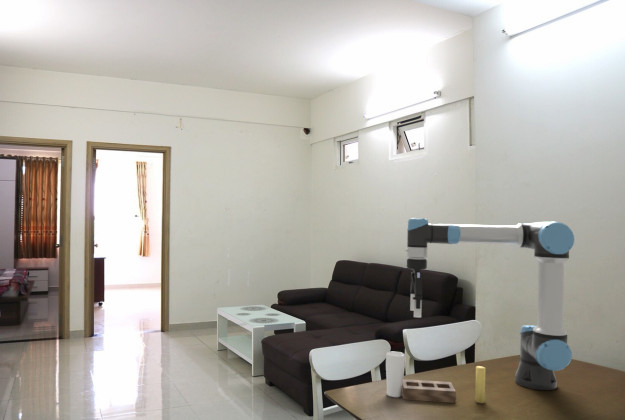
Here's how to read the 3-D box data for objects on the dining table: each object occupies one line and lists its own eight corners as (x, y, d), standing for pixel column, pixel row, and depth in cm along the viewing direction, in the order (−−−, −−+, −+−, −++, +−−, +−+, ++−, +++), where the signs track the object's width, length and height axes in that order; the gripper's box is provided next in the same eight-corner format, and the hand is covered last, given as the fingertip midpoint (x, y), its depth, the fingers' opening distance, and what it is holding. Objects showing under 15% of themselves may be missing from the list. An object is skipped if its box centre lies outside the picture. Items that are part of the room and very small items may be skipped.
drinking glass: (404, 393, 179) (406, 352, 179) (401, 399, 173) (403, 357, 173) (386, 391, 181) (388, 350, 182) (382, 396, 175) (384, 354, 175)
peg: (483, 400, 175) (484, 366, 175) (485, 403, 172) (486, 369, 172) (474, 399, 175) (475, 365, 175) (476, 402, 172) (477, 368, 172)
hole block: (450, 392, 181) (450, 382, 181) (455, 402, 171) (455, 391, 171) (401, 389, 183) (401, 379, 183) (403, 399, 173) (403, 388, 173)
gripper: (404, 255, 200) (403, 307, 200) (410, 260, 175) (408, 319, 175) (422, 256, 199) (421, 308, 199) (431, 261, 174) (429, 320, 174)
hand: (415, 313), depth 187 cm, fingers open, 13 cm apart
